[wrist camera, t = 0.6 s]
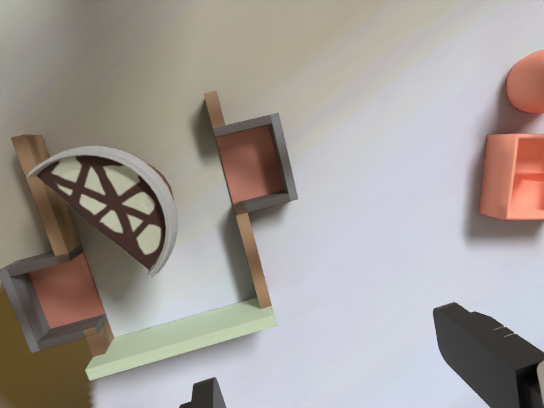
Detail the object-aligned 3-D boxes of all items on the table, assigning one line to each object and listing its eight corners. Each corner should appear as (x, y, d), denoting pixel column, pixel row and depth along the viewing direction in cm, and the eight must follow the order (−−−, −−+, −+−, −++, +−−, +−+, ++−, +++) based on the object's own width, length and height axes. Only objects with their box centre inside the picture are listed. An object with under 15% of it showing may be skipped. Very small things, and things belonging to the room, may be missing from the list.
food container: (212, 204, 38) (208, 225, 28) (171, 246, 38) (153, 281, 28) (119, 119, 35) (79, 109, 25) (76, 164, 35) (20, 171, 25)
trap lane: (-28, 151, 34) (-70, 152, 29) (266, 83, 36) (273, 74, 32) (57, 365, 38) (32, 397, 33) (314, 291, 41) (327, 310, 36)
